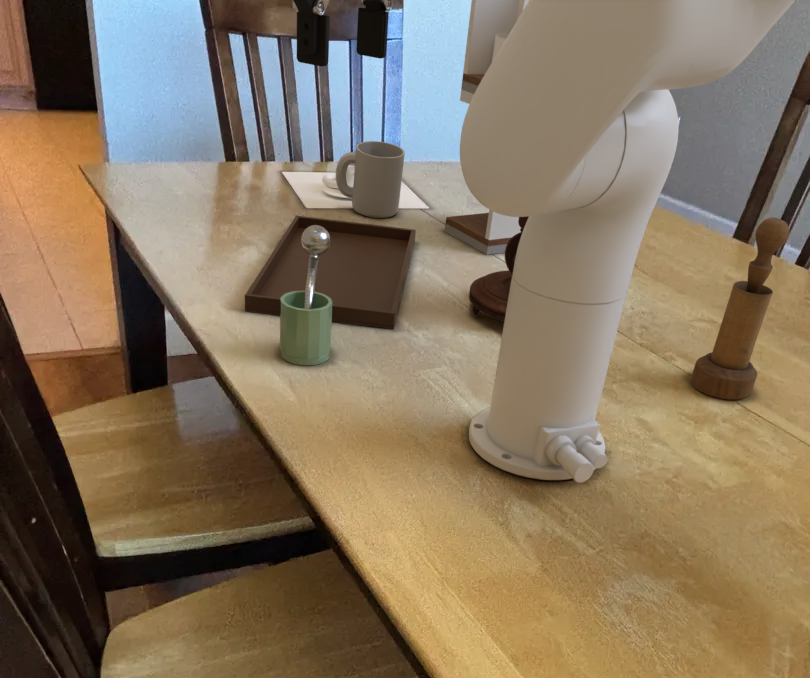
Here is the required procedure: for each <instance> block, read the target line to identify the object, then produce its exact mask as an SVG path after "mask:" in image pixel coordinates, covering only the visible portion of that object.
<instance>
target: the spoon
mask: <svg viewBox="0 0 810 678" xmlns="http://www.w3.org/2000/svg"><path fill="white" fill-rule="evenodd" d="M301 242H302V246H303V248H304V250H305V251H306V252H307V253H309V254H310V257H309V265H308V273H307V282H306V290H305V298H304V306H303V309H312V305H313V297H314V289H315V280H316V272H317V264H318V256H319V255H322V254H324V253H325V252H326V251H327V250H328V249H329V247H330V242H331V241H330V235H329V233H328V232H327V230H326V229H325V228H323V227H321V226H319V225H312V226H309V227H308V228H306V229H305V231H304V232H303V234H302V237H301Z"/></svg>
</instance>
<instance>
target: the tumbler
mask: <svg viewBox="0 0 810 678" xmlns="http://www.w3.org/2000/svg"><path fill="white" fill-rule="evenodd" d="M304 298H305V291H292V292H289V293H285V294H284V295H283V296H282V297H281V298H280V315H279V354H280V357H281V358H282V360H284V361H285V362H288V363H290V364H293V365H299V366H317V365H321V364H324V363H325V362H327V361H328V360H329V359H330V357H331V356H330V355H331V347H332V346H331V345H332V323H333V322H332V300H331V298H329V297H328V296H326V295H325V294H321V293H318V292H314V297H313V305H312V309H303V306H304Z"/></svg>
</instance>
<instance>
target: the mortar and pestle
mask: <svg viewBox="0 0 810 678" xmlns="http://www.w3.org/2000/svg"><path fill="white" fill-rule="evenodd" d="M754 234H755V235H754V236H755V242H756V249H757V255H756V257H755V258H754V260H752V261H750V262H749V263H748V269H747V280H739V281H735V282H734V283H733V285H732V287H731V291H730V295H729V298H728V301H727V304H726V308H725V310H724V313H723V317H722V320H721V324H720V325H719V330H718V333H717V336H716V340H715V341H714V346H713V349H712V352H709V353H706V354H705V355H703V356H700V357H699V358H698V359H697V360H696V361H695V364H694V367H693V371H692V372H691V376H690V384H691V385H692V386H693V387H694V388H695V390H698V391H699V392H701V393H703V394H705V395H707V396H710V397H714V398H718V399H722V400H734V401H735V400H742V399H746V398H747V397H748V396H750V395H751V394H752V392H753V389H754V387H755V383H756V380H757V377H758V371H757V369H756V368H755V367H754V365H753V364H752V362H750V360H751V358H752V355H753V351H754V349H755V345H756V342H757V340H758V336H759V333H760V330H761V328H762V324H763V322H764V319H765V316H766V313H767V310H768V308H769V304H770V301H771V299H772V296H773V293H774V291H773V289H772V288H770V287H769V286H767V285H764V284H765V283H766V281H767V279H768V278H769V276H770V275H771V273H772V271H773V269H774V266H773V265H772V258H773V256H774V255H775V253H776V252H777V251H778V250H780V248H781V247H782V246H784V244H785V243H786V242H787V240H788V238H789V235H790V228H789V225H788V223H787V221H785V220H783V219H781V218H778V217H767V218H765V219H763V220H762V221H761V222H760V223H759V224H758V226H757V228H756V231H755V233H754Z"/></svg>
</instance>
